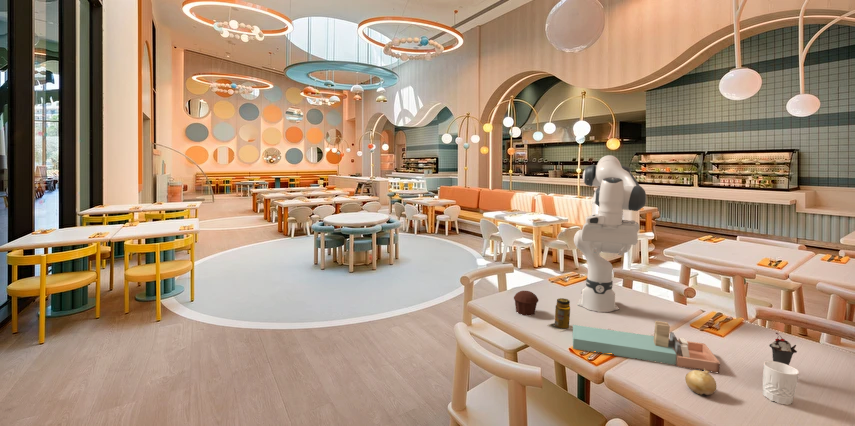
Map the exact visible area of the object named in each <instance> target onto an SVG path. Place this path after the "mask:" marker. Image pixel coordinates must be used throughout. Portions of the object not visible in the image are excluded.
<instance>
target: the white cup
mask: <svg viewBox="0 0 855 426" xmlns="http://www.w3.org/2000/svg"><path fill="white" fill-rule="evenodd" d="M762 371H763V372H762V392H761V393H762V396H763V395H764V396H766V397H767V398H769V399H770V400H772V401H775V402H777V403H776V404H778V403H781V404H780V405H783V404H790V405H792V404H793V403H794V402H793V401H794V396H795V394H796V389H797V385H798V380H799V376H800V371H799V369H797V368H795V367H794V366H791V365H790V364H789V365H787V364H784V363H780V362H775V361H773V360H767V361H766V360H765V361H763V366H762ZM764 396H763V397H764ZM767 398H766V399H767ZM770 400H769V401H770ZM772 401H771V402H772ZM775 402H774V403H775ZM791 403H792V404H791Z"/></svg>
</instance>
